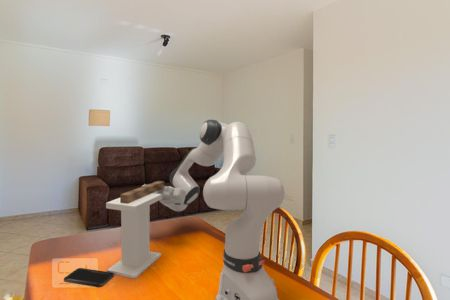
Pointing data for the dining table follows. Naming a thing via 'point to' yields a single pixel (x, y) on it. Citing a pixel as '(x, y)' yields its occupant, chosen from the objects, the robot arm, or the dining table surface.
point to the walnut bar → (141, 192)
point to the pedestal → (134, 236)
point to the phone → (89, 277)
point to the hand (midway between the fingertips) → (154, 186)
